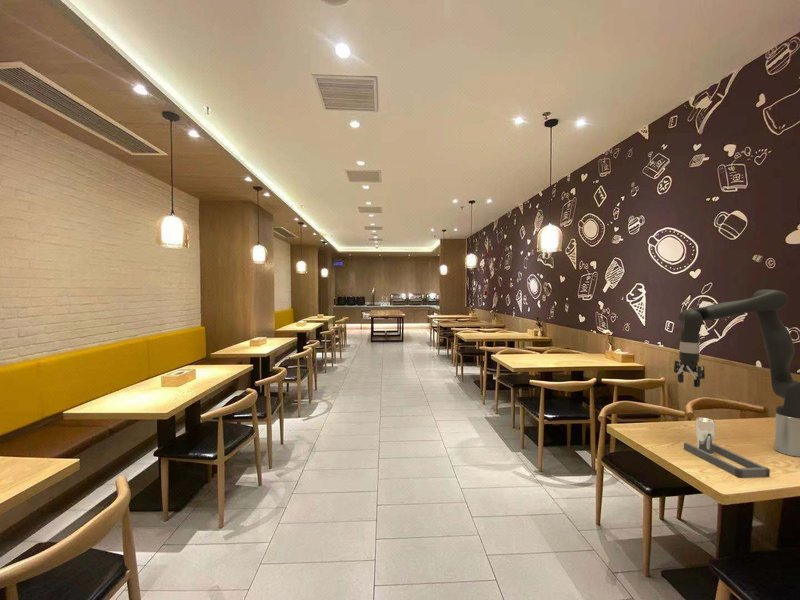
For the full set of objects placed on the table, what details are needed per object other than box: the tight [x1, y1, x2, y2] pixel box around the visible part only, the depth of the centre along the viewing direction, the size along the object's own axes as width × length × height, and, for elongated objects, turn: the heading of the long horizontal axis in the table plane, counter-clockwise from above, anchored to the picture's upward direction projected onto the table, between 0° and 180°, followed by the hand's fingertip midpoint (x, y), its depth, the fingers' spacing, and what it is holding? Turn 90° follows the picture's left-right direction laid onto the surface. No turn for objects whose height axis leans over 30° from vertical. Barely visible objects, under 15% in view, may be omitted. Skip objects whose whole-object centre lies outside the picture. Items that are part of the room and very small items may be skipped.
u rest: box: [683, 442, 771, 479], centre depth 155 cm, size 13×26×3 cm, turn 4°
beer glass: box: [695, 416, 717, 456], centre depth 164 cm, size 7×7×15 cm
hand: (688, 384), depth 175 cm, fingers open, 8 cm apart
